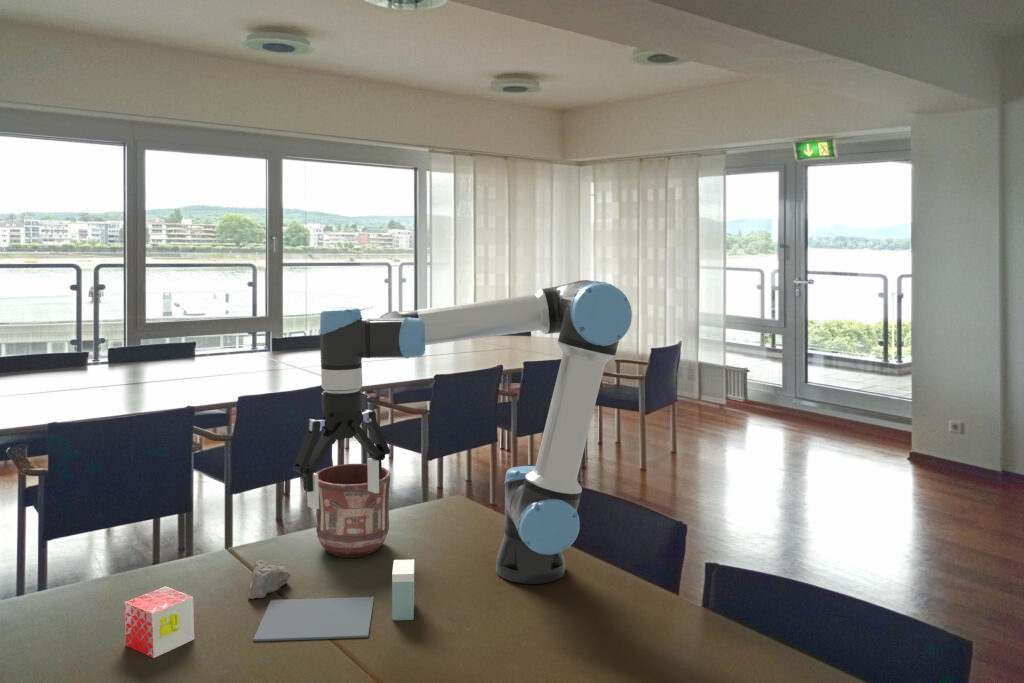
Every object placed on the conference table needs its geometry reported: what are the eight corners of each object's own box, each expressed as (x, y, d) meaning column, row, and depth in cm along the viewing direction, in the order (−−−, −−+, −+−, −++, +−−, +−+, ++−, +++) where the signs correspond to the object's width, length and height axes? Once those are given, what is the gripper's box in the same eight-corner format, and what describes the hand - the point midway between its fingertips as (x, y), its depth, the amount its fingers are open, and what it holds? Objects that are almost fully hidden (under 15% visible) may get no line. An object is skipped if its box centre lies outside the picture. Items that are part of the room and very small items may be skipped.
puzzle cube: (153, 658, 133) (152, 613, 132) (126, 645, 137) (124, 602, 137) (194, 639, 140) (193, 596, 139) (167, 627, 144) (166, 586, 143)
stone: (280, 601, 156) (279, 572, 155) (239, 601, 156) (238, 572, 155) (293, 580, 166) (292, 554, 165) (254, 580, 166) (253, 553, 165)
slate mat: (373, 598, 157) (373, 596, 157) (368, 637, 142) (368, 635, 142) (270, 601, 155) (270, 599, 155) (253, 641, 139) (253, 639, 139)
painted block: (414, 603, 156) (414, 559, 155) (413, 619, 149) (413, 573, 148) (393, 604, 155) (393, 560, 154) (392, 620, 148) (392, 574, 148)
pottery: (299, 546, 185) (299, 471, 183) (364, 529, 197) (364, 459, 194) (338, 570, 172) (338, 489, 170) (405, 550, 184) (406, 475, 182)
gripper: (383, 380, 160) (385, 481, 163) (271, 395, 142) (275, 509, 145) (406, 384, 155) (408, 489, 157) (293, 401, 137) (296, 519, 140)
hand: (344, 499), depth 151 cm, fingers open, 13 cm apart
